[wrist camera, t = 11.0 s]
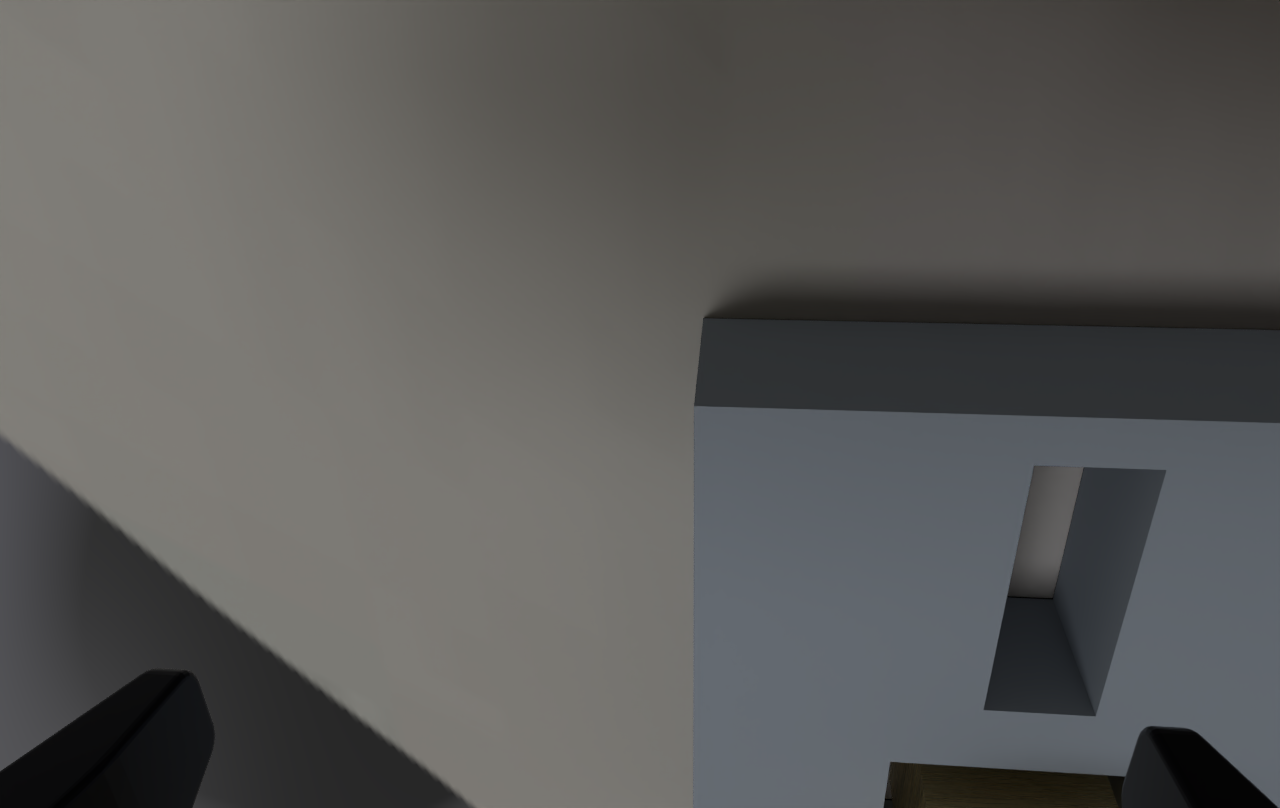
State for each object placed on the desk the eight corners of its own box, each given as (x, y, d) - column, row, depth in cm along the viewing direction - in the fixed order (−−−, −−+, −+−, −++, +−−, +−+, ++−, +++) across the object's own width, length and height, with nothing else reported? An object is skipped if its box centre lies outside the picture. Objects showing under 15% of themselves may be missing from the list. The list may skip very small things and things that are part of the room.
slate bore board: (1440, 333, 19) (1565, 431, 16) (1218, 864, 28) (1275, 994, 25) (703, 318, 21) (693, 406, 18) (699, 827, 29) (693, 947, 26)
